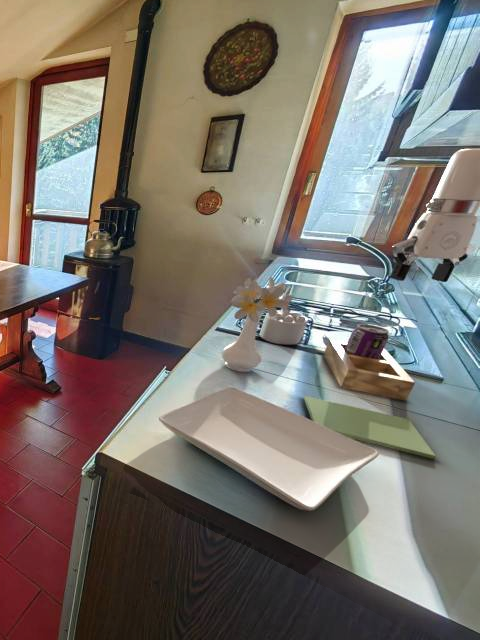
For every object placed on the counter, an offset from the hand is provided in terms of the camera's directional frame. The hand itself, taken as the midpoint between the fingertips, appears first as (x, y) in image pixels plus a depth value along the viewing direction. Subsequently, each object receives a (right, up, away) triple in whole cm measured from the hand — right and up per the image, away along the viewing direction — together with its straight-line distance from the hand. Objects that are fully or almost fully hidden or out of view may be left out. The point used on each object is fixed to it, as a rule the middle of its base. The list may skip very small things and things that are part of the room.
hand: (417, 279), depth 96 cm
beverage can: (-3, -23, +13) cm, 26 cm away
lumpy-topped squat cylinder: (-9, -15, +32) cm, 36 cm away
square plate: (-54, -36, -19) cm, 68 cm away
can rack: (-6, -25, +9) cm, 27 cm away
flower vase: (-36, -23, +12) cm, 45 cm away
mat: (-26, -33, -12) cm, 44 cm away
